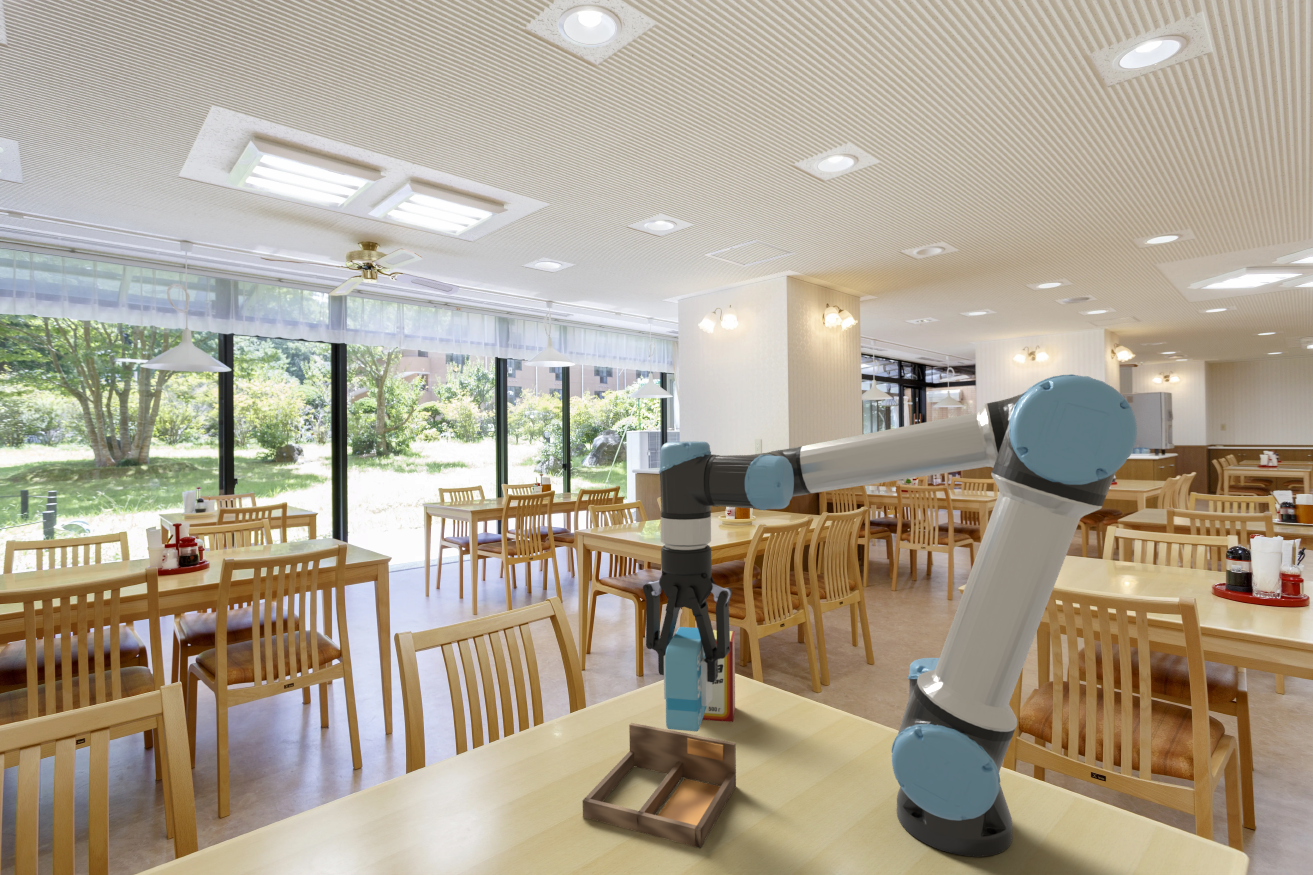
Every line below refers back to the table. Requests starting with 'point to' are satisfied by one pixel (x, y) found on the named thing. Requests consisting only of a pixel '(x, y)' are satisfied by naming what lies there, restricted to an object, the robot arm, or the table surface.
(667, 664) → the blue rounded block
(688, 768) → the rack
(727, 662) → the baking soda box
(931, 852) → the table surface
